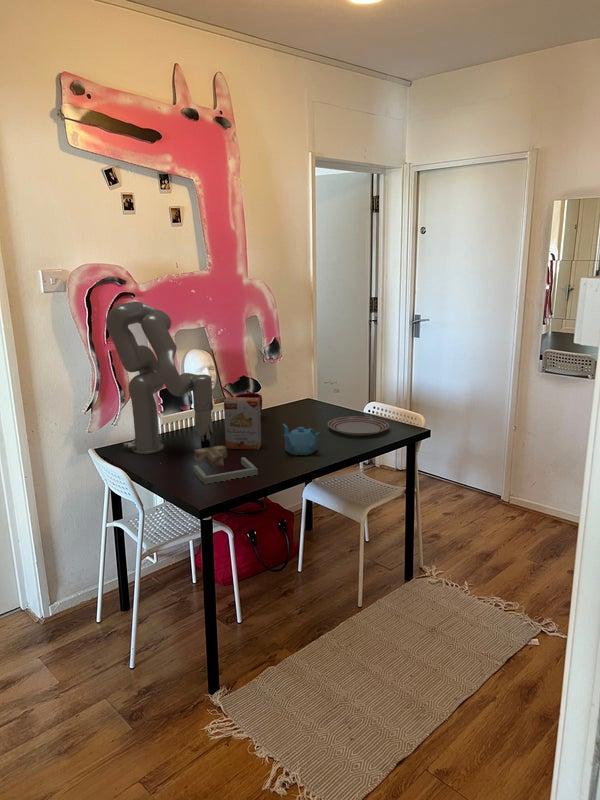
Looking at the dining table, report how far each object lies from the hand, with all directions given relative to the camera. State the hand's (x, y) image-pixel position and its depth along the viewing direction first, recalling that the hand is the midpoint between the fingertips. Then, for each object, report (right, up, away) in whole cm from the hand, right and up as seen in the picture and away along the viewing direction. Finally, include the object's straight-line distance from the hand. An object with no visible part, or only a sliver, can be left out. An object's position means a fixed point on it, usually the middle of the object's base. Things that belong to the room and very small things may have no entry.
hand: (205, 449), depth 243 cm
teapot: (+38, -1, 0) cm, 38 cm away
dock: (+11, -7, -22) cm, 25 cm away
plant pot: (+14, +10, +46) cm, 49 cm away
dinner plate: (+64, +6, +28) cm, 70 cm away
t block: (+5, -4, -9) cm, 11 cm away
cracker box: (+15, 0, +7) cm, 16 cm away
